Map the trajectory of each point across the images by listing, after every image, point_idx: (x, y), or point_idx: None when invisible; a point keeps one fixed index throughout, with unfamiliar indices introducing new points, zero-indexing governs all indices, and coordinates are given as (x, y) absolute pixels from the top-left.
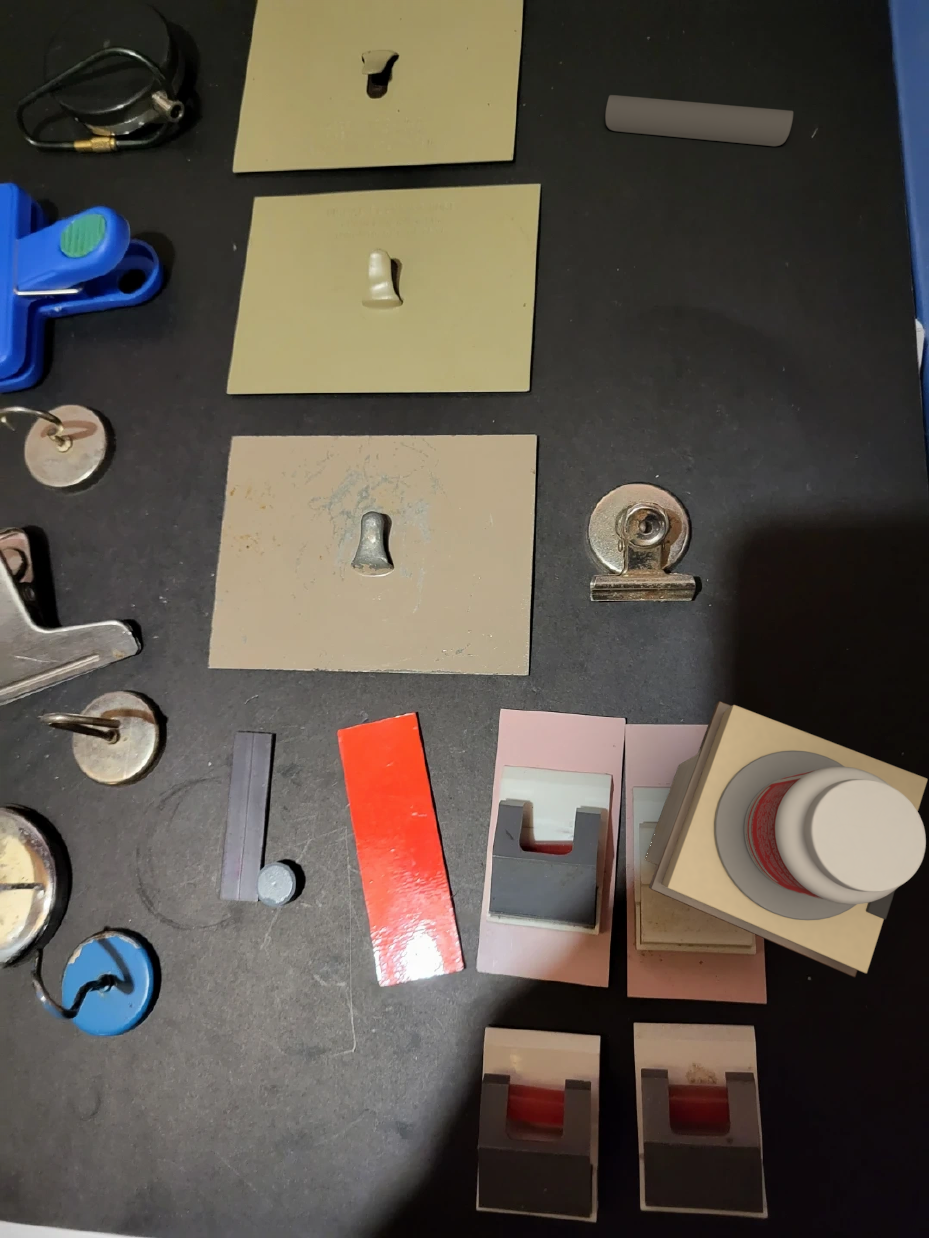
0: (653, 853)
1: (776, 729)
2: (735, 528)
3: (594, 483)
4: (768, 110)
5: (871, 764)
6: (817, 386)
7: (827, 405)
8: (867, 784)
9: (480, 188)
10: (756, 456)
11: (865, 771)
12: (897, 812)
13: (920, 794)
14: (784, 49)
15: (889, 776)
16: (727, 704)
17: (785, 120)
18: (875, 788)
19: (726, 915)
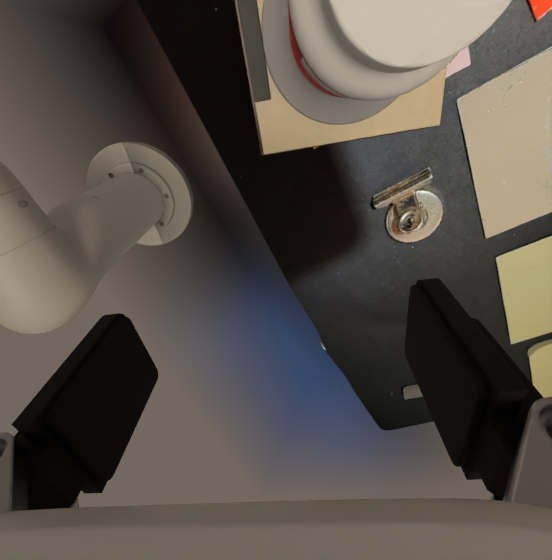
0: None
1: (395, 124)
2: (364, 241)
3: (445, 229)
4: (415, 397)
5: (309, 140)
6: (352, 313)
7: (345, 308)
8: (453, 44)
9: (543, 333)
10: (367, 276)
11: (393, 96)
12: (391, 22)
13: (263, 138)
14: (414, 414)
15: (291, 138)
16: (420, 128)
17: (407, 396)
18: (438, 45)
19: None
